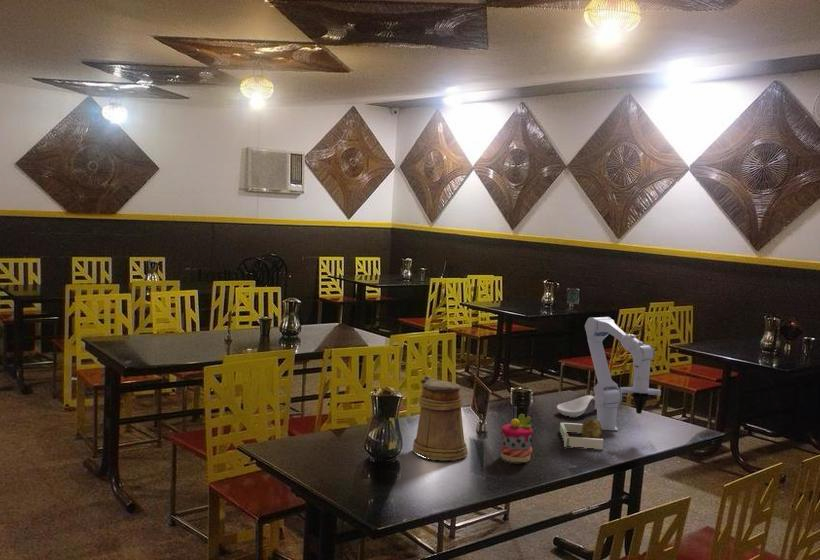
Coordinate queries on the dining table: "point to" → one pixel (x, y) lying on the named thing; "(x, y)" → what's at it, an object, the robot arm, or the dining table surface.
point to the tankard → (440, 421)
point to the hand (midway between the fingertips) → (638, 412)
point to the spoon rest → (575, 406)
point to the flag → (565, 438)
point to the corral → (577, 440)
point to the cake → (517, 440)
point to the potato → (591, 429)
